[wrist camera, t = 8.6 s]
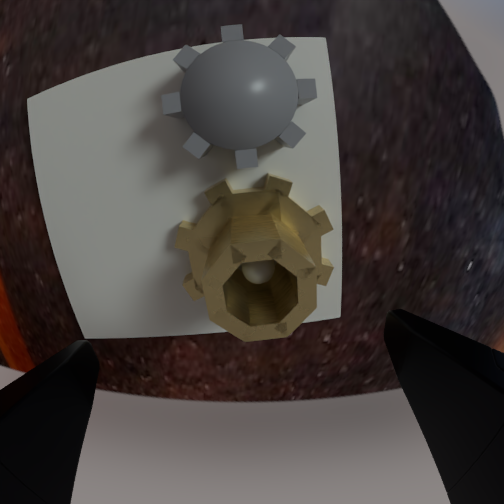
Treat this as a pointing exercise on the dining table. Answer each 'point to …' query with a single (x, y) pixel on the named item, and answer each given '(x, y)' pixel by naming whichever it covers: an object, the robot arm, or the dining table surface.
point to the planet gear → (256, 258)
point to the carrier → (179, 171)
